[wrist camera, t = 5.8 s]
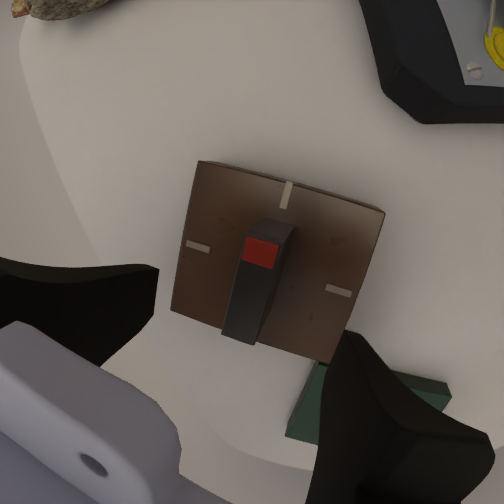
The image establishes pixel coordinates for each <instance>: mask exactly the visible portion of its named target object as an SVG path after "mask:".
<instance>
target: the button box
mask: <svg viewBox="0 0 504 504" xmlns="http://www.w3.org/2000/svg"><path fill="white" fill-rule="evenodd" d="M329 364H330V363H329ZM329 364H327V363H324V362H320V361H317V360H316V361H315V364H314V366H313V368H312V371H311V373H310V375H309V377H308V380H307V382H306V384H305V387H304V389H303V391H302V393H301V395H300V398H299V400H298V402H297V404H296V406H295V408H294V410H293V413H292V415H291V417H290V419H289V421H288V424H287V429H286V433H285V437H289V438H292V439H296V440H300V441H303V442H307V443H311V444H315V445H318V442H319V425H320V405H321V393H322V387H323V382H324V377H325V373H326V371H327V369H328V366H329ZM392 372H393V373H394V374H395V375H396V376H397V377H398V378H399V379H400V380H401V381H402V382H403V383H404V384H405V385H406V386H407V387H408V388H409V389H411V390H412V391H413V392H414V393H415V394H416V395H418V396H419V397H420V398H422V399H423V400H424V401H426V402H427V403H429V404H430V405H431V406H433V407H434V408H436V409H437V410H439V411H441V412H442V411H443V410H444V408H445V407H446V405H447V404H448V402H449V401H450V399H451V398H452V395H451V393H450V391H449V388H448V386H447V384H446V383H443V382H438V381H434V380H429V379H425V378H420V377H416V376H412V375H407V374H403V373H399V372H395V371H392Z"/></svg>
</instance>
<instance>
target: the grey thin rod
mask: <svg viewBox="0 0 504 504" xmlns="http://www.w3.org/2000/svg"><path fill="white" fill-rule="evenodd" d="M496 1H497V0H491V1H490V10H489V17H488V23H487V34H486V35H487V36H488V38H491V33H492V32H493V31H492V30H493V24H494V18H495V11H496V10H495V9H496Z"/></svg>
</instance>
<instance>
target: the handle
mask: <svg viewBox="0 0 504 504" xmlns="http://www.w3.org/2000/svg"><path fill="white" fill-rule="evenodd" d="M293 231H294V226H291V225H287V224H284V223H281V222H277V221H274V220H271V219H267V218H264V219H262V220H261V221H259V222H258V223H256V224H255V225H253V226H252V227H250V228H249V229H247V230H246V234H245V238H244V242H243V246H242V250H241V254H240V258H239V262H238V266H237V270H236V274H235V278H234V282H233V286H232V290H231V294H230V298H229V303H228V307H227V311H226V315H225V319H224V323H223V327H222V331H221V334H222V335H224V336H227V337H230V338H233V339H235V340H238V341H241V342H244V343H247V344H250V345H255V342H256V340H257V338H258V336H259V334H260V332H261V330H262V328H263V326H264V324H265V321H266V319H267V317H268V315H269V312H270V309H271V306H272V303H273V299H274V296H275V293H276V289H277V286H278V283H279V279H280V276H281V273H282V269H283V266H284V262H285V259H286V256H287V252H288V249H289V245H290V242H291V238H292V235H293Z"/></svg>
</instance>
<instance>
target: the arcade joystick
mask: <svg viewBox="0 0 504 504" xmlns="http://www.w3.org/2000/svg"><path fill="white" fill-rule="evenodd" d="M359 1H360V4H361V8H362V11H363V14H364V18H365V21H366V25H367V29H368V32H369V36H370V40H371V44H372V48H373V52H374V56H375V60H376V65H377V69H378V74H379V79H380V83H381V88H382V90H383V92H384V93H385V94H386V96H387V97H389V98H390V99H391V100H392V101H394V102H395V103H396V104H397V105H399V106H400V107H401V108H402V109H403V110H405V111H406V112H407V113H408V114H409V115H410V116H412V117H413V118H414V119H415V120H416V121H418V122H420V123H422V124H448V123H500V124H504V0H497V1H496V9H495V10H496V11H495V18H494V24H493V30H492V31H493V32H492V33H491V38H488V36H487V35H486V34H487V23H488V17H489V10H490V1H491V0H359Z"/></svg>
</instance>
